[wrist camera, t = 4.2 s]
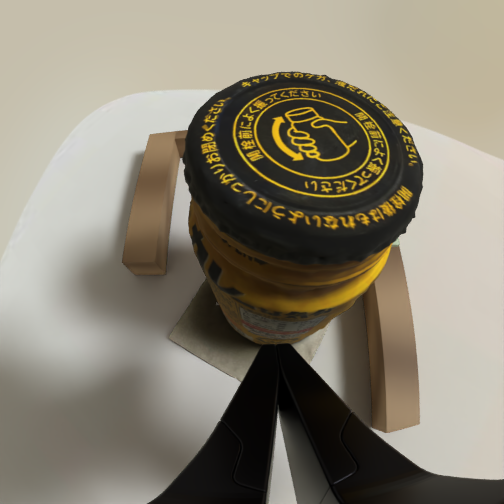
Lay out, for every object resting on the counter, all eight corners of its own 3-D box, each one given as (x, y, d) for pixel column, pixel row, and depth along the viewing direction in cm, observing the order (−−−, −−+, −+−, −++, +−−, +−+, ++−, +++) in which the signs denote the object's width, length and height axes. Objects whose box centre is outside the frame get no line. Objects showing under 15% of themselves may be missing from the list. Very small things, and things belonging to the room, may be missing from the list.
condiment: (351, 272, 17) (463, 121, 6) (286, 404, 14) (374, 478, 3) (245, 220, 18) (235, 35, 7) (169, 338, 15) (16, 248, 4)
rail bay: (402, 420, 13) (422, 424, 11) (129, 431, 13) (111, 438, 11) (356, 148, 21) (364, 127, 19) (156, 152, 21) (148, 131, 19)
